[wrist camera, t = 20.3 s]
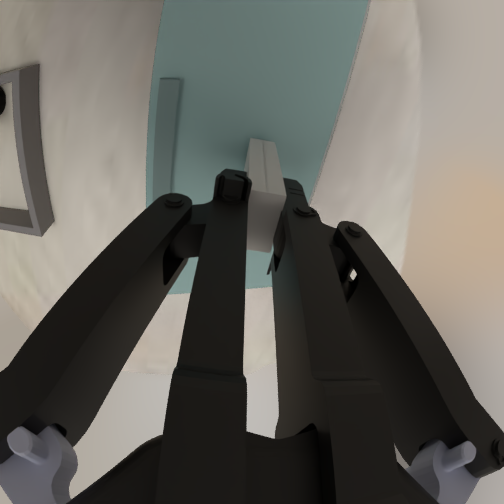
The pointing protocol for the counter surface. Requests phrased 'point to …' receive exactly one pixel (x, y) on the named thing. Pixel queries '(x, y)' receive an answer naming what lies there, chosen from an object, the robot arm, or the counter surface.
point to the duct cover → (245, 95)
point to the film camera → (2, 101)
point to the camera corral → (28, 155)
